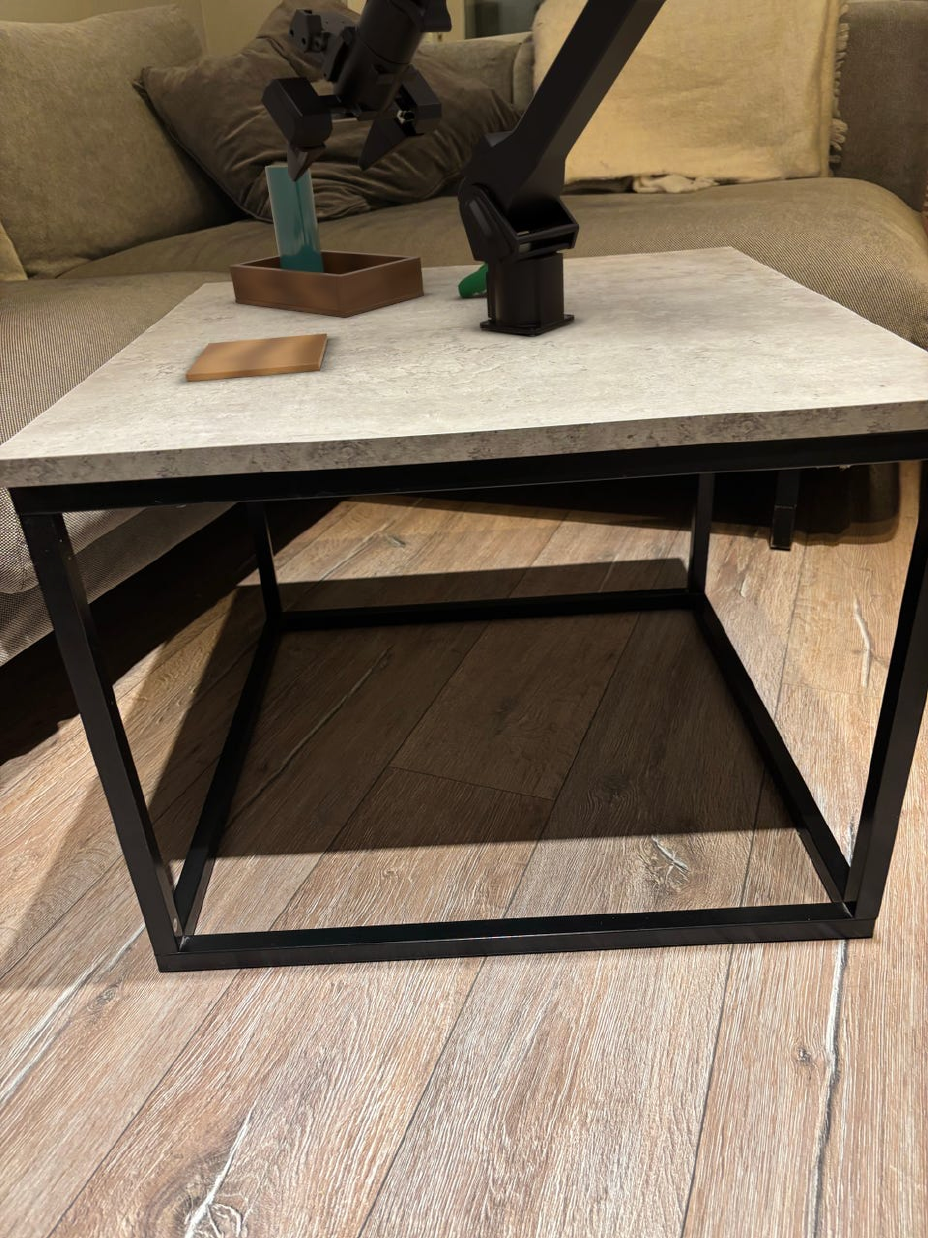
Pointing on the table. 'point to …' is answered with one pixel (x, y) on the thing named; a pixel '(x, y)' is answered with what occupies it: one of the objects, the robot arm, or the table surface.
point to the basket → (330, 283)
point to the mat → (259, 357)
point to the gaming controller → (474, 283)
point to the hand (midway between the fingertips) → (327, 172)
